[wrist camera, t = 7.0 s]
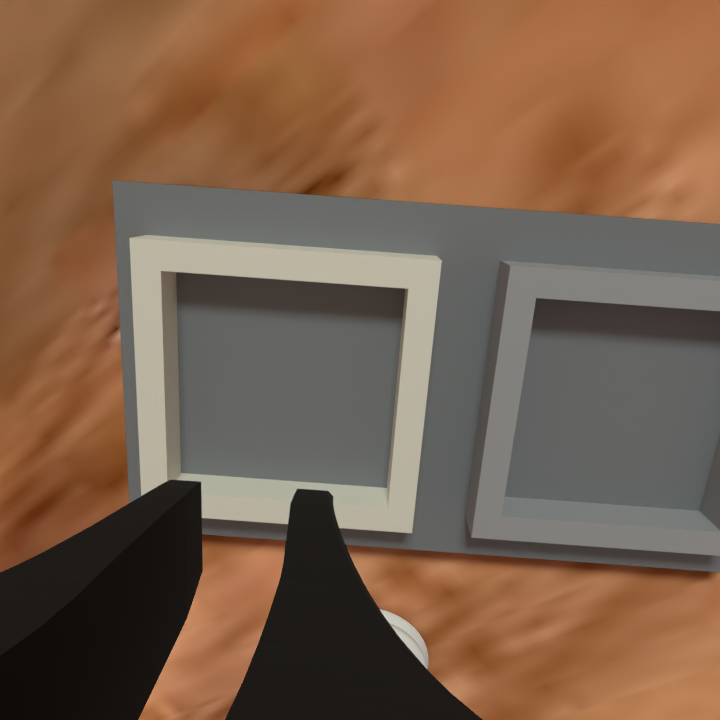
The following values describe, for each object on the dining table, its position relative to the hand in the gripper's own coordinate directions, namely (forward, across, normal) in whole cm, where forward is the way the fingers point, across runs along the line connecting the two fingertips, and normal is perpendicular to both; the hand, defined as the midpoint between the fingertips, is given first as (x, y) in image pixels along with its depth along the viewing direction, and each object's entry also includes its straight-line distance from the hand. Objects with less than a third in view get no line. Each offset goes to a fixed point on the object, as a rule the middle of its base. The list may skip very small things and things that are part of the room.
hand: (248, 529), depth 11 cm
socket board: (+7, -5, -1) cm, 9 cm away
